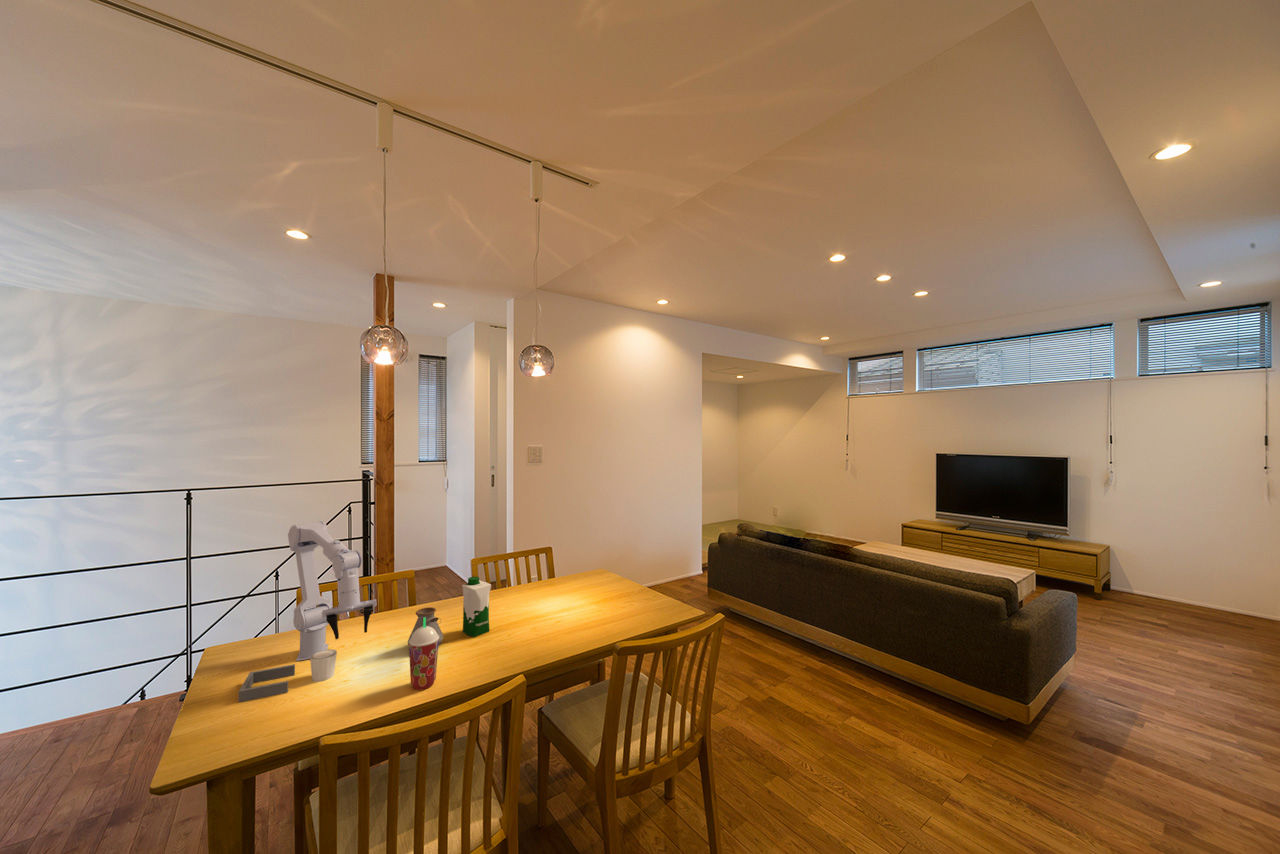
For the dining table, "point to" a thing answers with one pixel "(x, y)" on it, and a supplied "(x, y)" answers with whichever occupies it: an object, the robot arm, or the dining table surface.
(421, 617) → the coffee pot
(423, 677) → the smoothie
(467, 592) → the milk carton
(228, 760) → the dining table surface
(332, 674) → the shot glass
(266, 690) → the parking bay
